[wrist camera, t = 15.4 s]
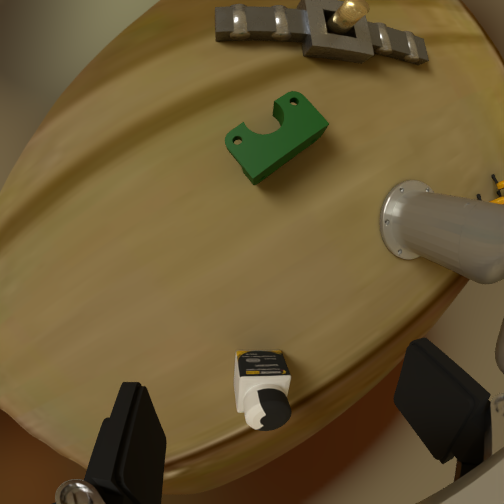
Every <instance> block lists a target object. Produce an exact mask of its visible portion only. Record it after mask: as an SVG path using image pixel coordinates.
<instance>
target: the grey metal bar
mask: <svg viewBox="0 0 504 504" xmlns="http://www.w3.org/2000/svg"><path fill="white" fill-rule="evenodd" d="M343 3H344V2H343V1H338V0H301V1H300V3H299V4H298V6H297V9H288V8H287V7H285V6H282V5H276V6H272V7H247V6H246V5H243V4H235V5H232V6H230V7H215V35H216V41H236V40H265V41H288V42H301V43H302V48H303V56H307V57H318V58H327V59H335V60H342V61H349V62H355V63H361V64H362V63H363V62H365V61H366V60H368V59H369V58H371V57H372V56H374V54H379V55H383V56H387V57H391V58H395V59H399V60H402V61H406V62H410V63H413V64H416V65H420V64H422V63H425V62H427V61H429V59H428V55H427V51H426V47H425V43H424V39H423V38H420V37H417V36H414V35H413V33H412V32H409V31H399V30H396V29H393V28H389V27H387V26H386V25H385V24H384V23H371V22H367V20H366V16H365V15H364V16H363V17H362V18H361V19H360V20H359V21H358V22H357V23H356V24H355V25H353V26H352V27H351V28H350V29H349V30H348V31H347V32H346V33H345V34H344V35H343V36H342V35H336V34H330V33H327V28H326V23H327V22H328V20H329V19H330V18H331V17H332V16H333V14H334V13H335V12H336V11H337V10H338V9H339V7H340V6H341V5H342V4H343Z"/></svg>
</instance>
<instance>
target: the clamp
mask: <svg viewBox="0 0 504 504" xmlns="http://www.w3.org/2000/svg"><path fill="white" fill-rule="evenodd" d="M291 102H294V103H296V104H297V105H292V104H291ZM273 116H274V117H275V118H276V119H277V120H278V121H279V123H280V125H281V127H280V128H279V129H278V130H277V131H275V132H273V133H271V134H266V135H262V134H257V133H254V132H252V131H251V130H249V129H248V128H247V127H246V125H245V124H244V122H243V123H241V124H240V125H238V126H237V127H236V128H234V129H233V130H231V131H230V132H229V133H228V134H227V135H226V137H225V144H226V147H227V149H228V151H229V152H230V153H231V154H232V156H233V157H234V158H235V159H236V161H237V162H238V163H239V164H240V165H241V167H242V169H243V173H244V174H245V175H246V176H247V177H248V179H249V180H250V181H251V182H252V184H253V185H256V184H258V183H259V182H261V181H262V180H263V179H265V178H266V177H267V176H269V175H270V174H271V173H273V172H274V171H276V170H277V169H278V168H280V167H281V166H282V165H284V164H285V163H286V162H288V161H289V160H290V159H292V158H293V157H295V156H296V155H297V154H299V153H300V152H302V151H303V150H304V149H306V148H307V147H308V146H310V145H311V144H313V143H314V142H315V141H317V140H318V139H319V138H320V137H321V136H322V134H323V133H324V131H325V130H326V128H327V126H328V125H329V123H328V122H327V121H326V120H325V119H324V117H323V116H322V115H321V114H320V113H319V112H318V111H317V110H316V108H315V107H314V106H313V105H312V104H311V103H310V102H309V101H308V100H307V99H306V98H305V97H304V95H302V94H301V93H299V92H296V91H291V92H288V93H286V94H285V95H283V96H282V97H280V98H278V99H277V100H275V101H274V108H273ZM235 140H241V141H242V143H241V144H239V145H235V144H234V141H235Z"/></svg>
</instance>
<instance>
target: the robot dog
mask: <svg viewBox="0 0 504 504" xmlns="http://www.w3.org/2000/svg"><path fill="white" fill-rule="evenodd" d="M492 178H493V179H494V181H495V183H496V186H497V189H498V190H501V189H504V180H503V181H501V182H498V181H497V180H496V178H495V175H494V174H493V175H492ZM497 194H498V195H499V198H497V199H494V200H492V201H489V202H492V203H497V204H502V205H504V196H501V193H500V191H497ZM477 198H478V199H479V200H480V201H482V200H481V196H480V194H477Z"/></svg>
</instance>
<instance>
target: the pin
mask: <svg viewBox="0 0 504 504" xmlns="http://www.w3.org/2000/svg"><path fill="white" fill-rule="evenodd" d="M368 12H369V5H368V4H367V2H366V1H365V0H346V1H345V2H344V3H343V4H342V5H341V6H340V7H339V9H338V10H337V11H336V12H335V13H334V14H333V16H332V17H331V18H330V19H329V20H328V22H327V23H326V28H327V33H330V34H336V35H342V36H343V35H344V34H345V33H346V32H347V31H348V30H349V29H350V28H351V27H352V26H353V25H355V24H356V23H357V22H358V21H359V20H360V19H361V18H362V17H363V16H364V15H365V14H367V13H368Z"/></svg>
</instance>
